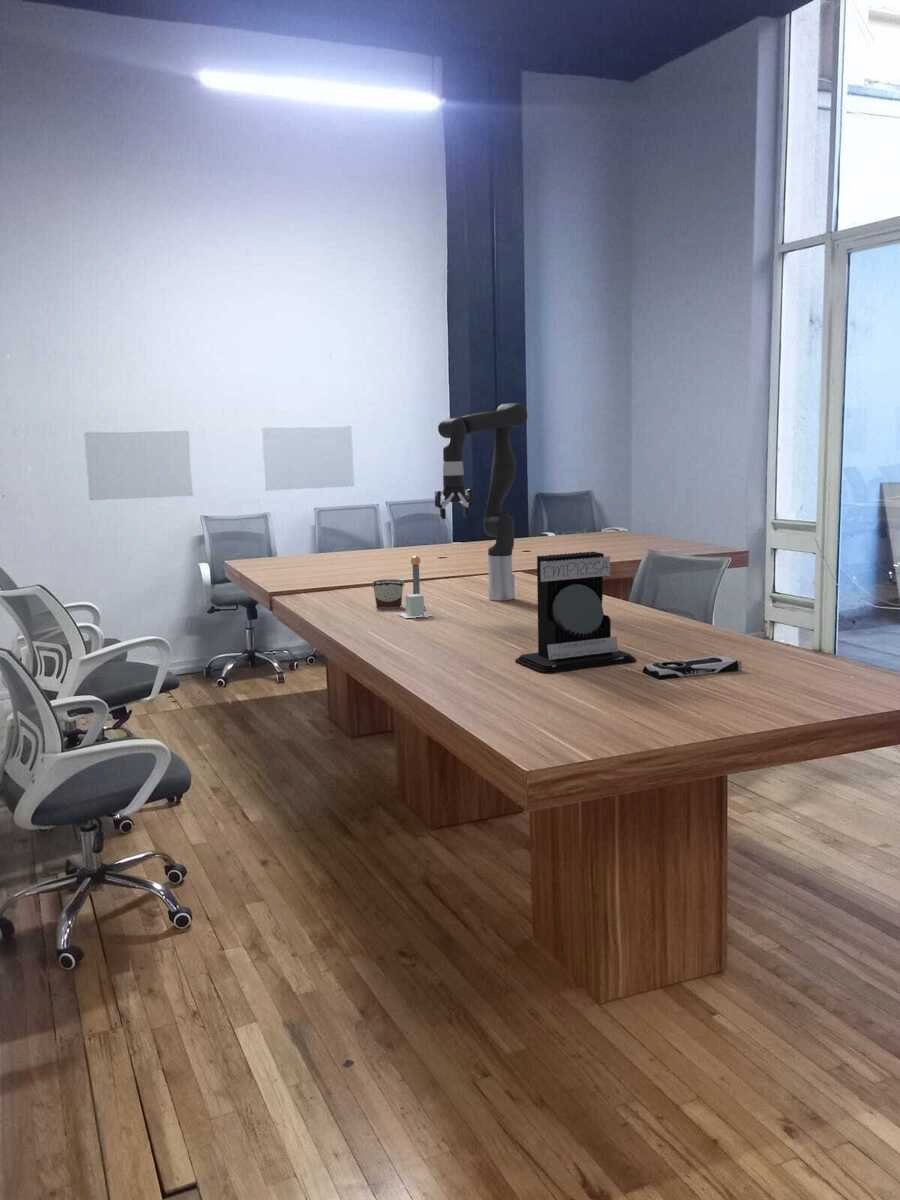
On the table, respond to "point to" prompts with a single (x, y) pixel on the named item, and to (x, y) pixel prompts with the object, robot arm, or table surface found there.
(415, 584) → the metal post
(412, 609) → the green block
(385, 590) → the food container
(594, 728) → the table surface
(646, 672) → the graphics card
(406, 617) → the pad
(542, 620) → the award
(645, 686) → the table surface
